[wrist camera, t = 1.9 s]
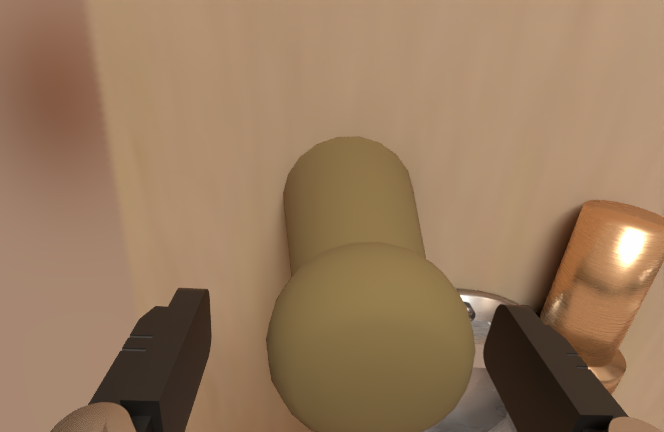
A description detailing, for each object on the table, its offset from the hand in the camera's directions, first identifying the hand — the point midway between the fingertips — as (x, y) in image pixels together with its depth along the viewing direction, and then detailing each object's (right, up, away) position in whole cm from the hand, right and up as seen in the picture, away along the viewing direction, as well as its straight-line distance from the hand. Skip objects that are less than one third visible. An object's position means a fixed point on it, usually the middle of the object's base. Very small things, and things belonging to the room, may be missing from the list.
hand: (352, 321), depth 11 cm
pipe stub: (+12, 0, +9) cm, 15 cm away
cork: (0, +4, +8) cm, 9 cm away
